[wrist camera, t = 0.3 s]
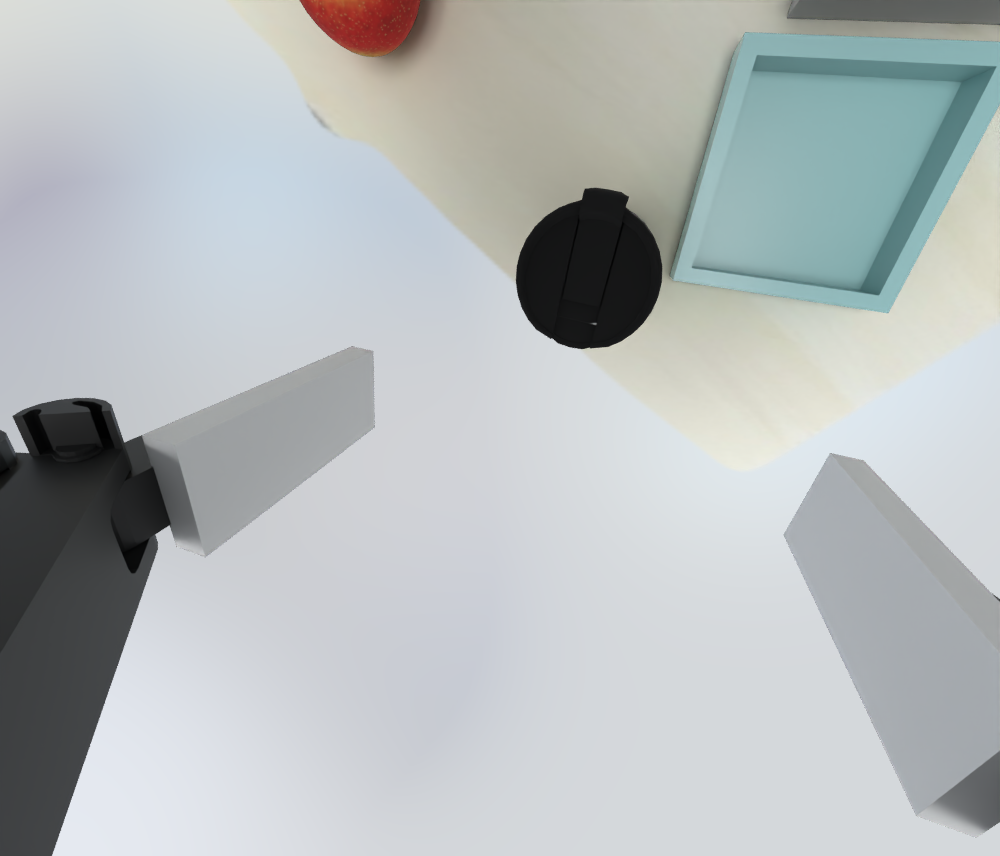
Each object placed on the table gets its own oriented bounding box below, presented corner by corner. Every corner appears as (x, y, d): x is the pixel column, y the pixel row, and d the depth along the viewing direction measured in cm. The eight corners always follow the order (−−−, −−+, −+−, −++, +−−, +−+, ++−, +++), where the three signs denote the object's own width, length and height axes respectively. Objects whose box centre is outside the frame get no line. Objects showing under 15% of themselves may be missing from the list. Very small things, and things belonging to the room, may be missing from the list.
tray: (733, 53, 28) (745, 32, 25) (985, 64, 25) (1032, 43, 22) (669, 275, 34) (672, 280, 31) (864, 305, 31) (888, 313, 28)
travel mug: (663, 216, 33) (692, 203, 15) (636, 302, 36) (635, 372, 18) (583, 201, 34) (527, 173, 16) (564, 286, 37) (499, 338, 19)
